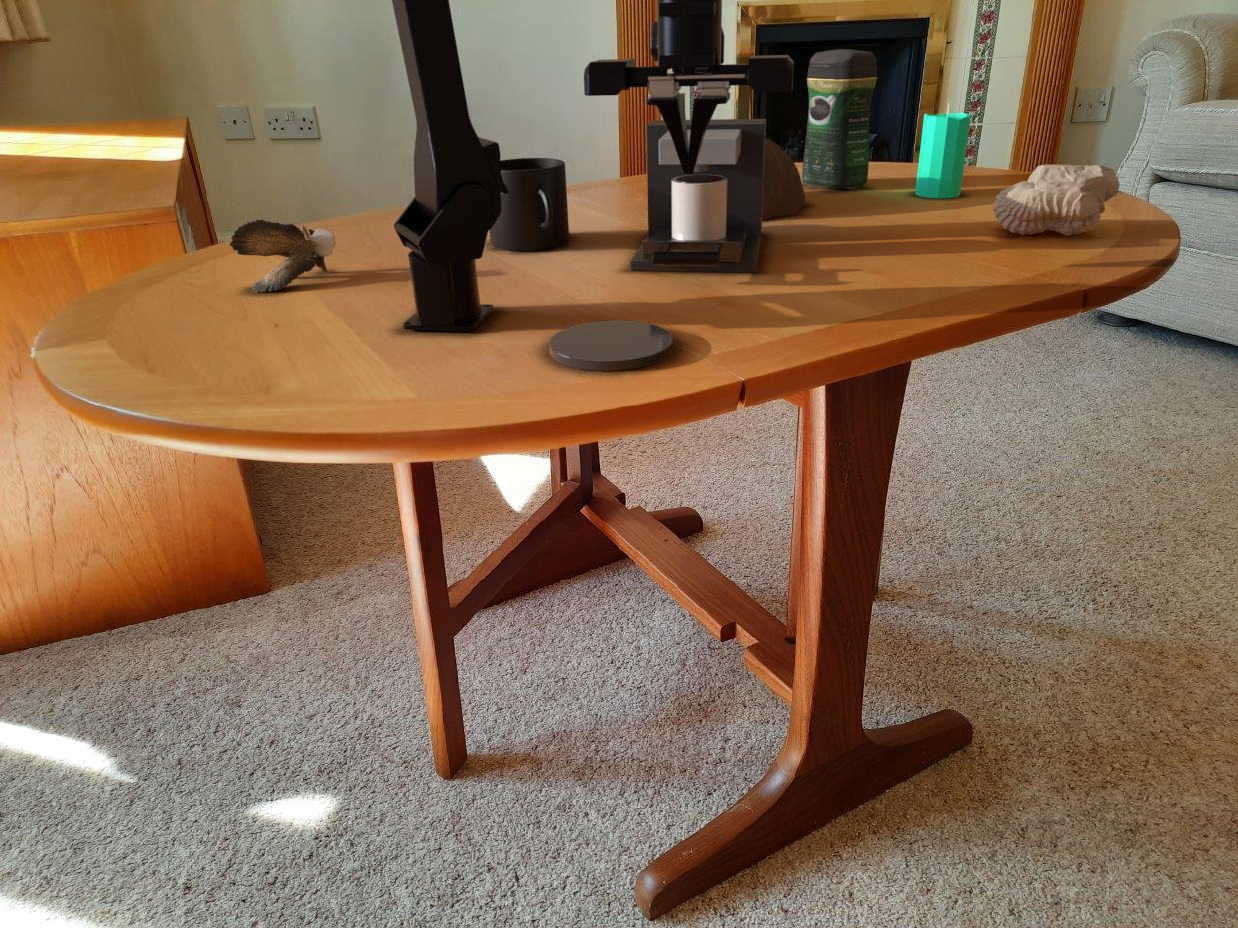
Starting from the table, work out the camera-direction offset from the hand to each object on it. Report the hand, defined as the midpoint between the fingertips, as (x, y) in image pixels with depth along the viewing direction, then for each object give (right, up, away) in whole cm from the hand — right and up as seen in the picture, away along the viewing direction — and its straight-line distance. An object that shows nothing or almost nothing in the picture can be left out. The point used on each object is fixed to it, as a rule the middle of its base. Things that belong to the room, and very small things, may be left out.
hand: (688, 174), depth 85 cm
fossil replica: (+43, -2, +17) cm, 46 cm away
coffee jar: (+26, +14, +48) cm, 56 cm away
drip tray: (+1, -5, +9) cm, 11 cm away
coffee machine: (+3, -4, +15) cm, 16 cm away
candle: (+38, +10, +40) cm, 56 cm away
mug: (-17, -2, +20) cm, 26 cm away
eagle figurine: (-41, -9, +9) cm, 43 cm away
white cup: (+2, -3, +12) cm, 13 cm away
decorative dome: (+9, +7, +37) cm, 38 cm away
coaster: (-7, -19, -13) cm, 24 cm away
